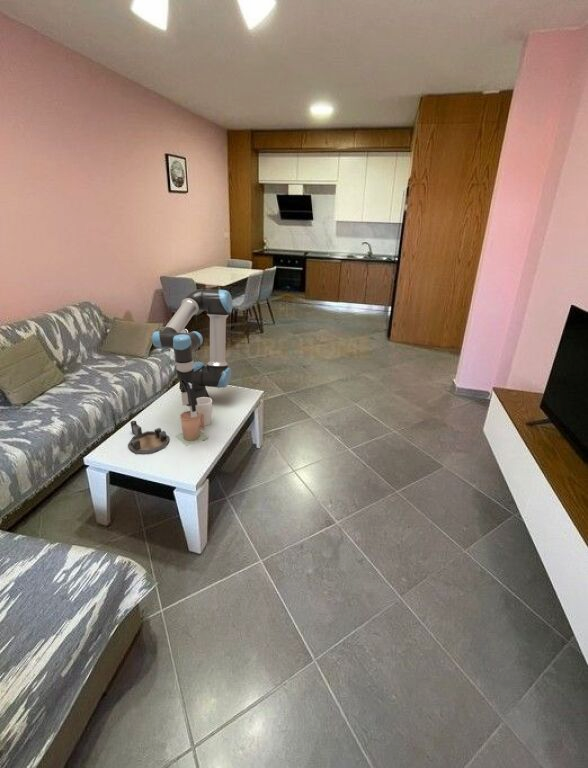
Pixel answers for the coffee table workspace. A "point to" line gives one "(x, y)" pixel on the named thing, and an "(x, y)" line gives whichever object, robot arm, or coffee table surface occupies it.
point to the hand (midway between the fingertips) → (189, 410)
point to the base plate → (149, 443)
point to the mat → (187, 443)
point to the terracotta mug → (191, 425)
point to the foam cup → (204, 409)
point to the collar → (138, 433)
